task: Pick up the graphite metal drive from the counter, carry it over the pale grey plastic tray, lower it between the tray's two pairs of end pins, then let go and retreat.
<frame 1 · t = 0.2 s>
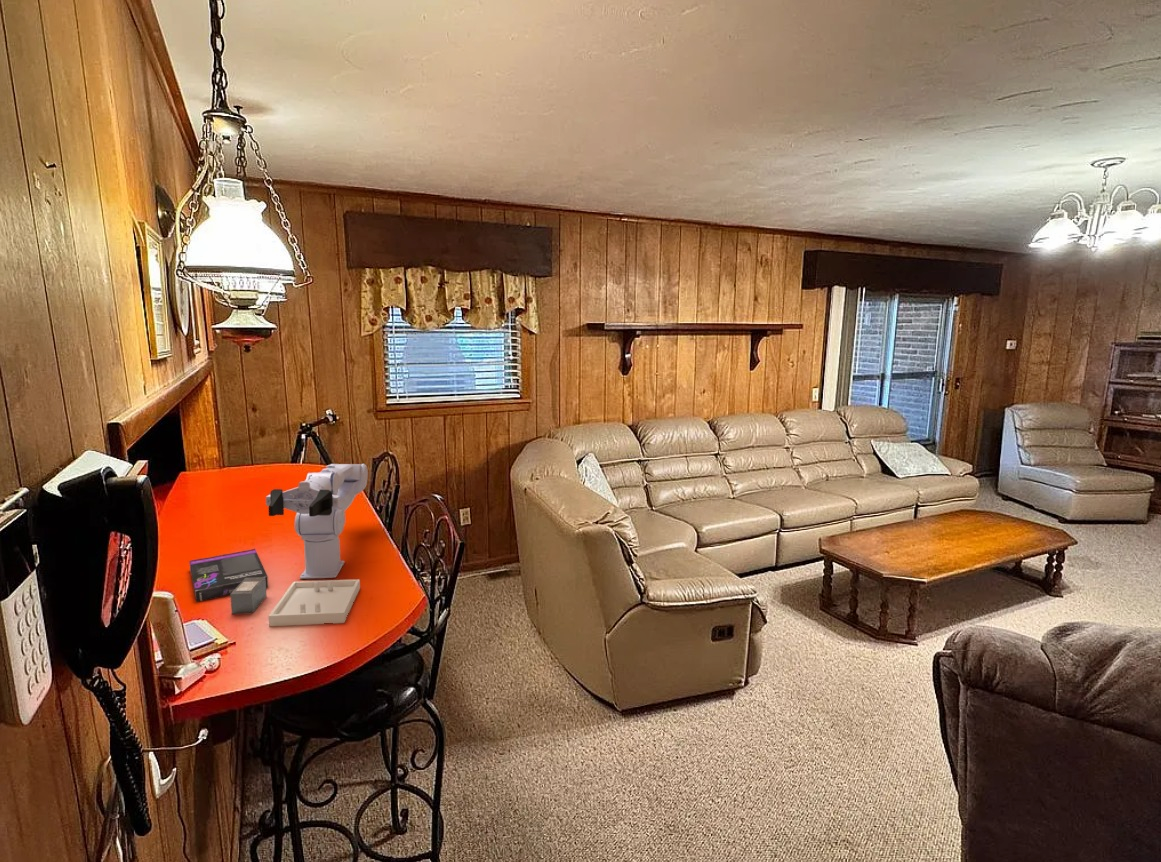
hand: (290, 511, 121), 21 cm above the counter, tool horizontal, fingers open, 7 cm apart
drive: (249, 605, 127), on the counter
tray: (317, 606, 127), on the counter
box: (228, 581, 139), on the counter
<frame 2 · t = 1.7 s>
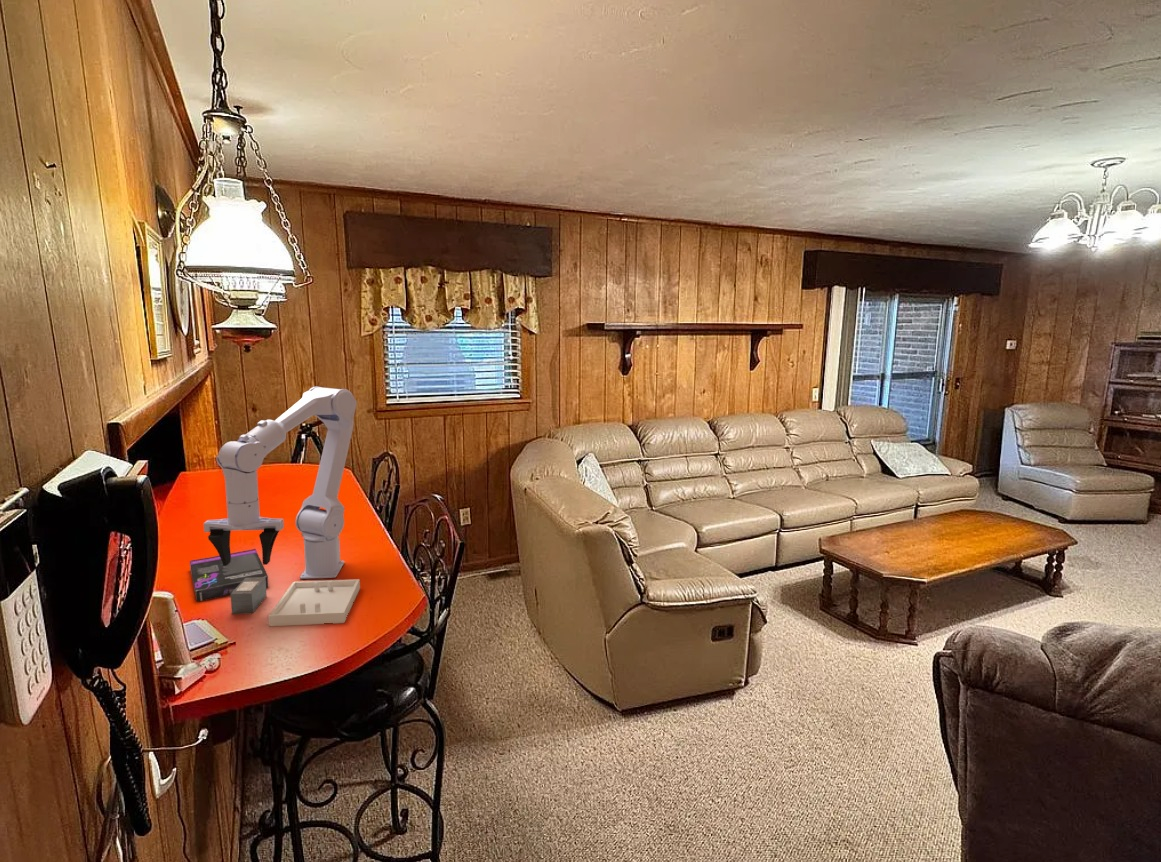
hand: (246, 563, 125), 9 cm above the counter, tool pointing down, fingers open, 7 cm apart
nothing on the counter moved.
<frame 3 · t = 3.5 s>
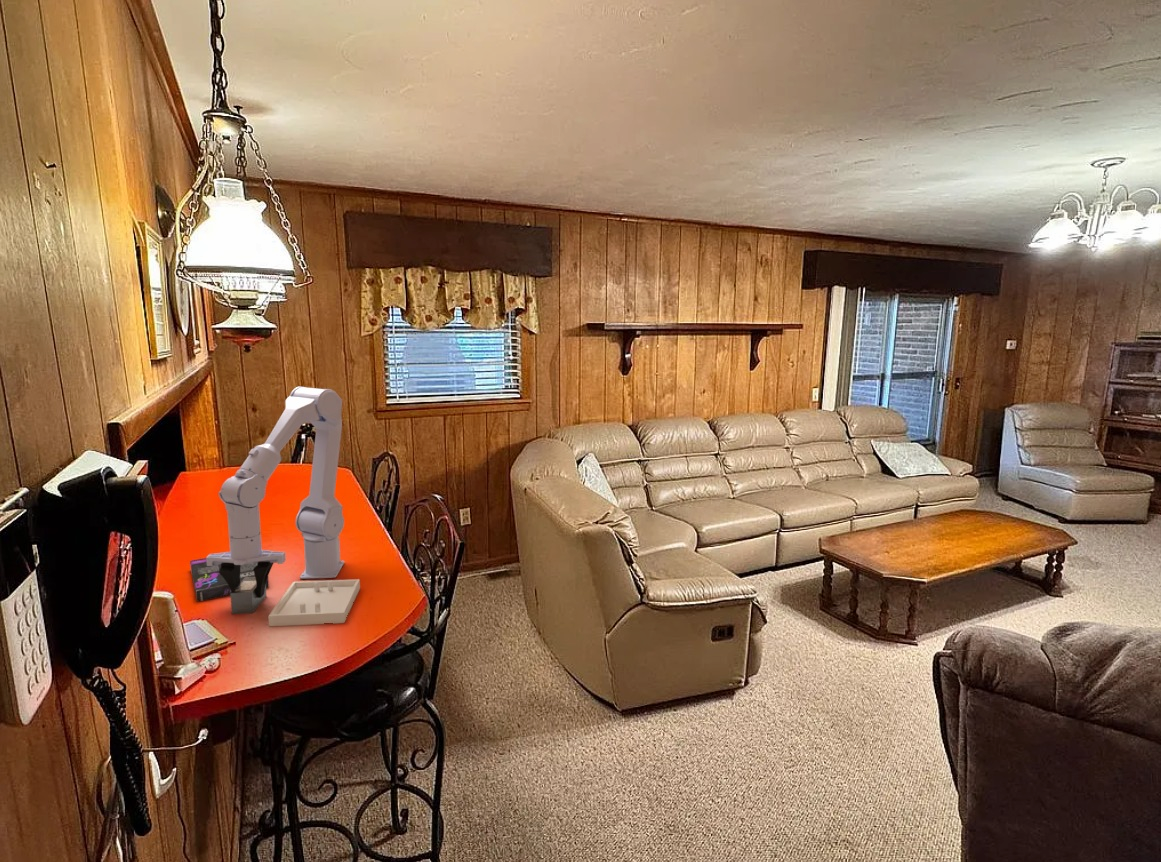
hand: (249, 596, 126), 2 cm above the counter, tool pointing down, fingers closed on drive, 4 cm apart
drive: (249, 604, 127), on the counter, touching gripper
everything else where it was.
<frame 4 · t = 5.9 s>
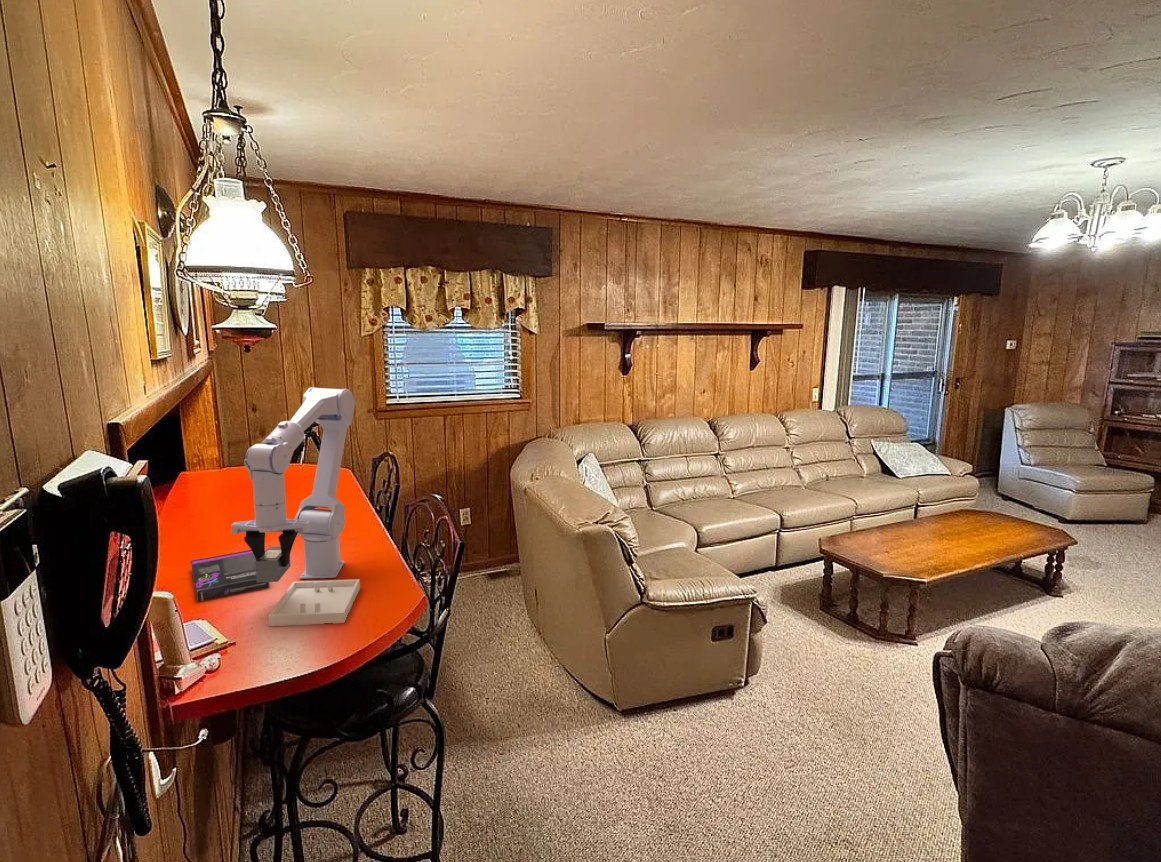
hand: (273, 565, 125), 9 cm above the counter, tool pointing down, fingers closed on drive, 4 cm apart
drive: (274, 574, 126), point 7 cm above the counter, touching gripper
everything else where it was.
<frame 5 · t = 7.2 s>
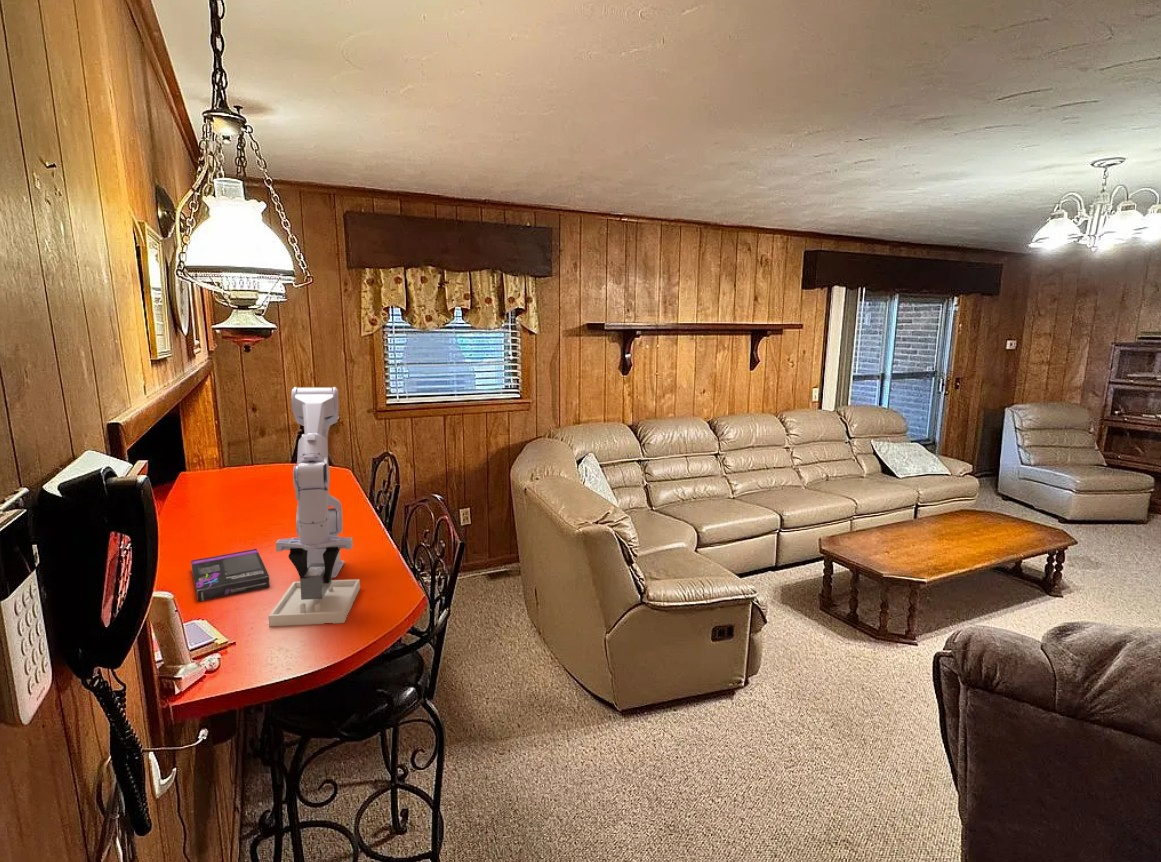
hand: (316, 582, 126), 5 cm above the counter, tool pointing down, fingers closed on drive, 4 cm apart
drive: (316, 590, 126), point 3 cm above the counter, touching gripper
everything else where it was.
when the fingers open (4 cm above the counter, at t = 8.2 s): drive drops 1 cm, resting on tray.
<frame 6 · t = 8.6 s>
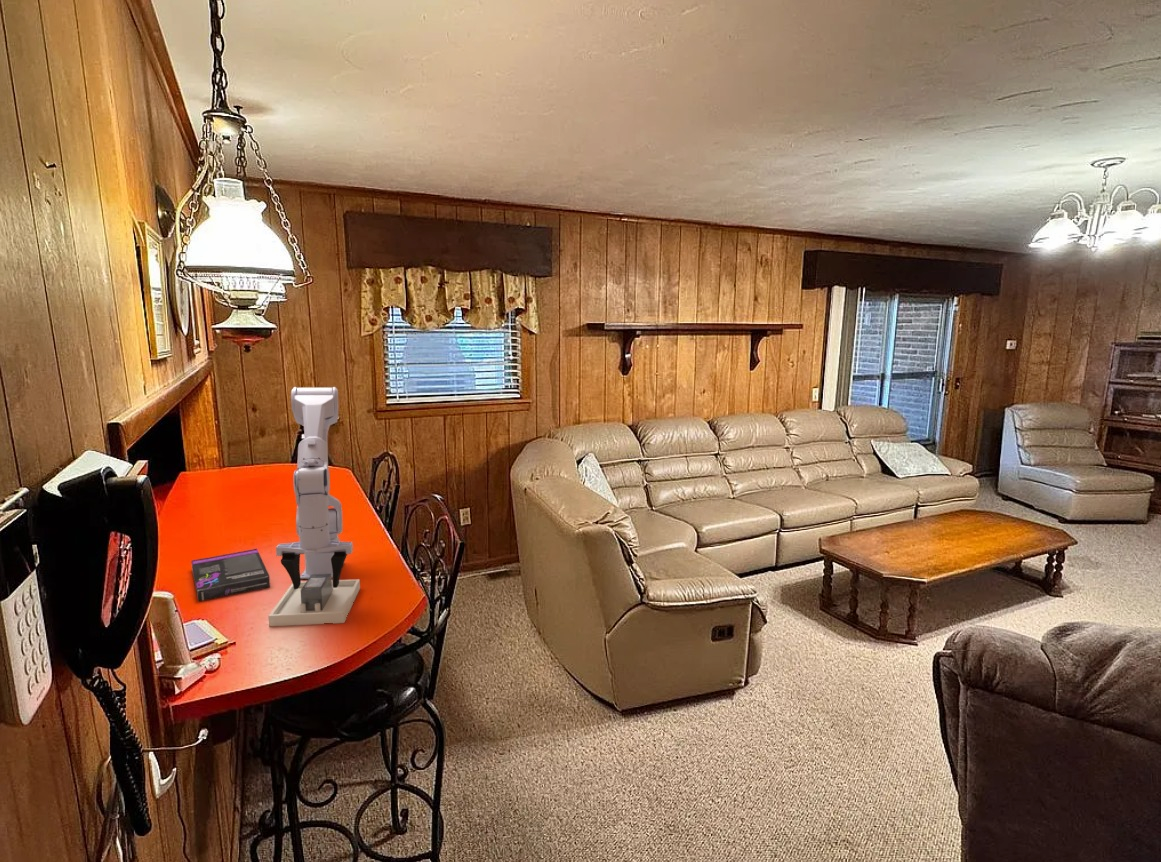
hand: (316, 586, 126), 4 cm above the counter, tool pointing down, fingers open, 7 cm apart
drive: (317, 601, 127), point 1 cm above the counter, touching tray
everything else where it was.
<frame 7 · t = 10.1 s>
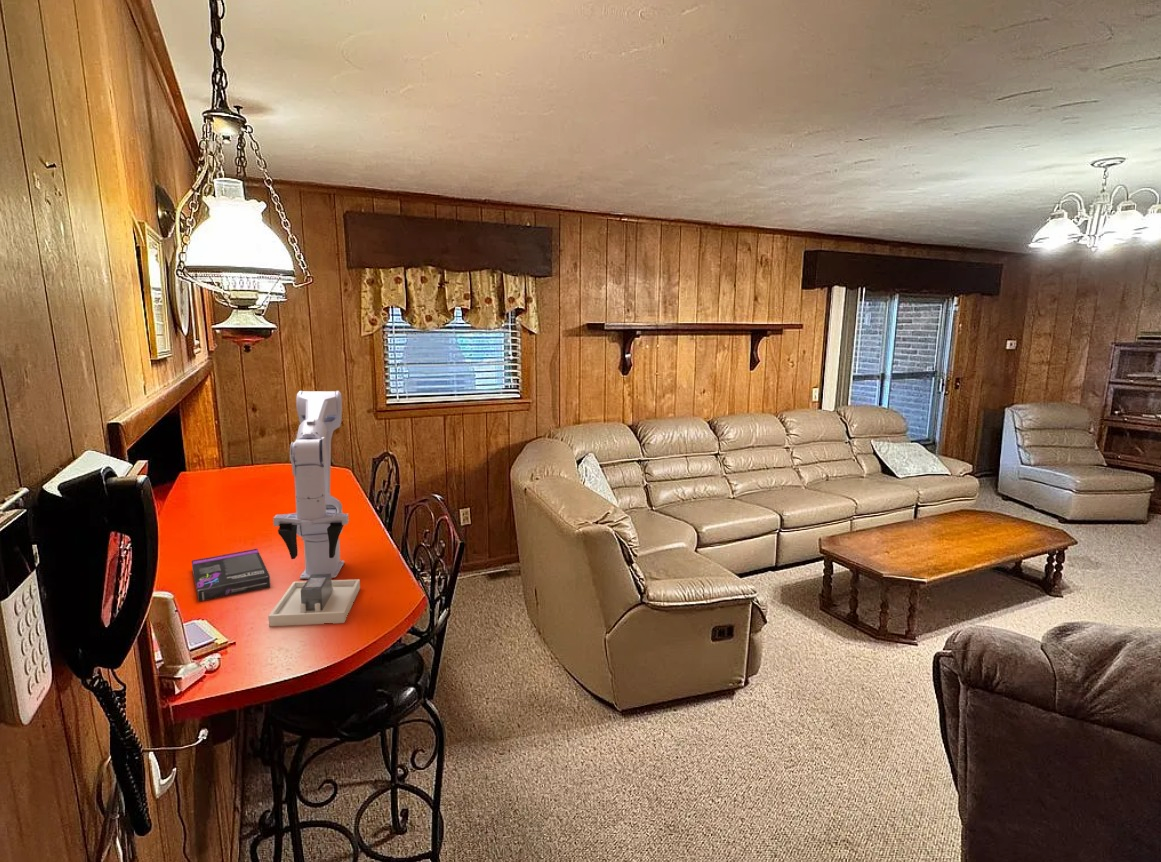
hand: (313, 556, 129), 9 cm above the counter, tool pointing down, fingers open, 7 cm apart
nothing on the counter moved.
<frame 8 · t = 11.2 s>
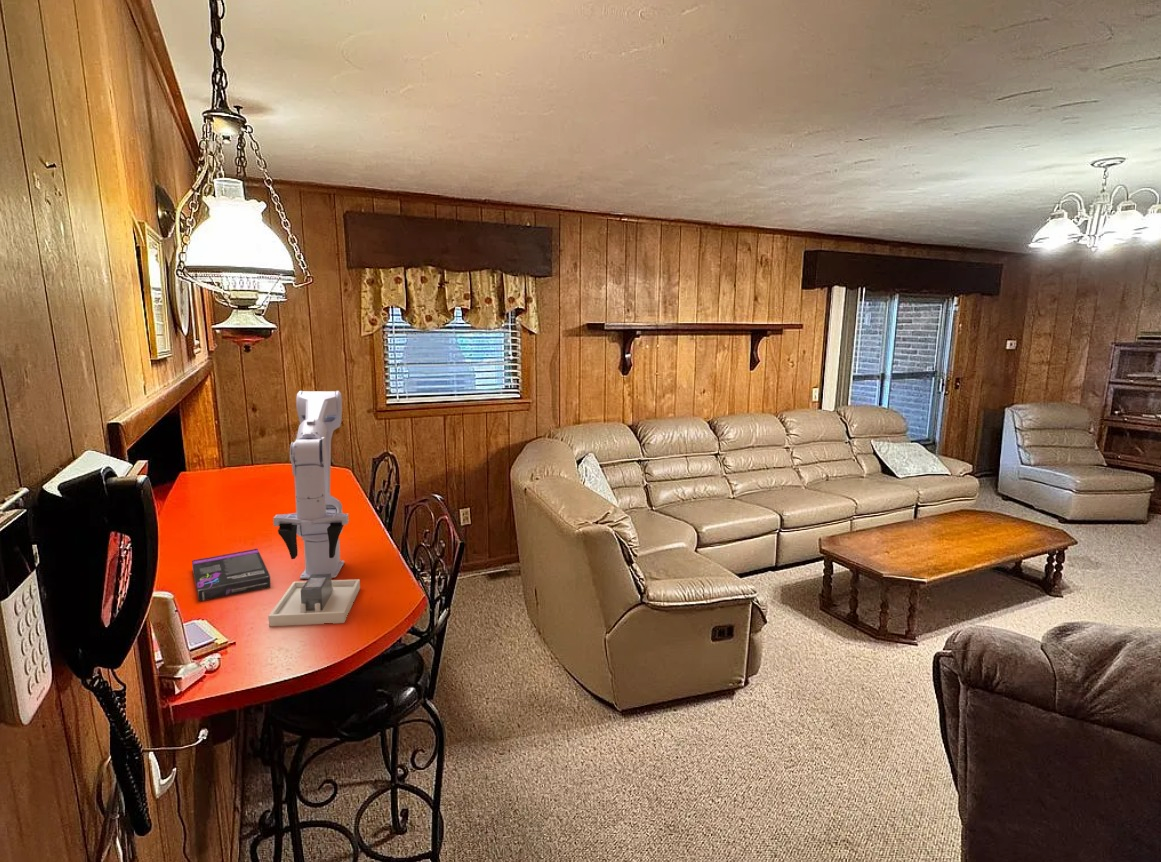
hand: (313, 556, 129), 9 cm above the counter, tool pointing down, fingers open, 7 cm apart
nothing on the counter moved.
at the end: drive 0.1 cm off-centre on the tray, point 1.0 cm above the tray's base; drive tilted 0°; the gripper is holding nothing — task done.
